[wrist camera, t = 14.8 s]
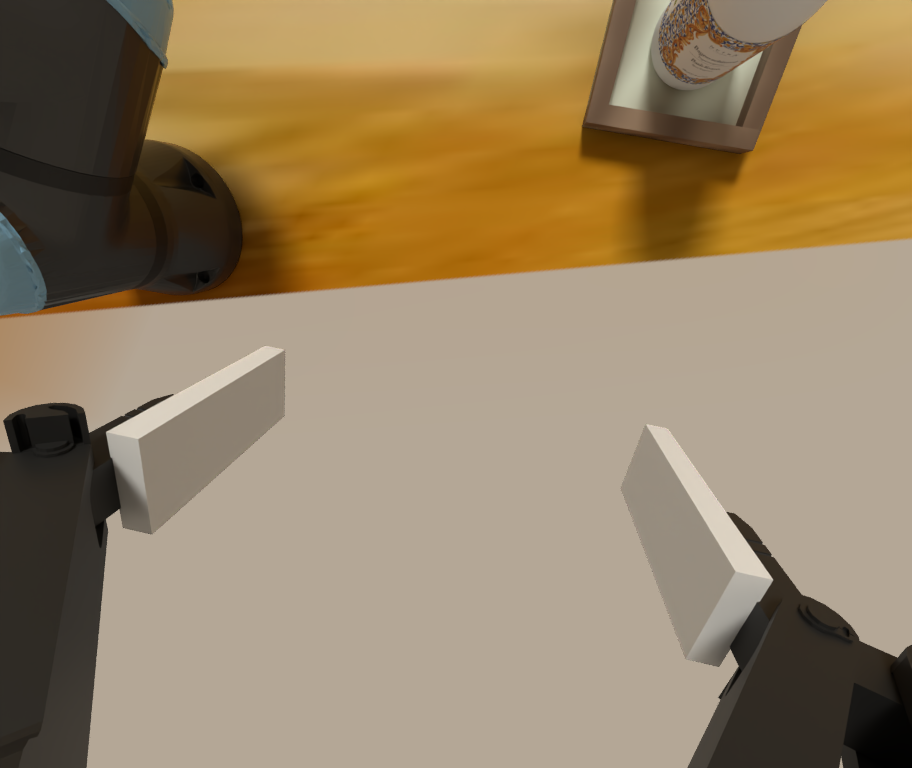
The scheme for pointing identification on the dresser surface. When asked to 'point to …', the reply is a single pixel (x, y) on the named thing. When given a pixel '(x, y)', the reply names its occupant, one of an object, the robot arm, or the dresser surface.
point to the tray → (671, 110)
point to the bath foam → (720, 36)
